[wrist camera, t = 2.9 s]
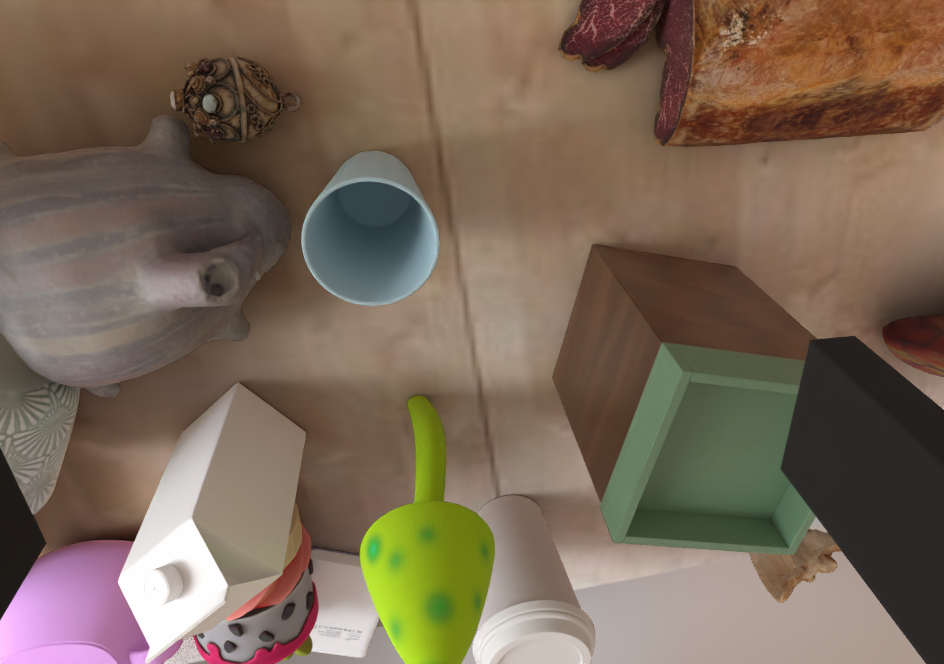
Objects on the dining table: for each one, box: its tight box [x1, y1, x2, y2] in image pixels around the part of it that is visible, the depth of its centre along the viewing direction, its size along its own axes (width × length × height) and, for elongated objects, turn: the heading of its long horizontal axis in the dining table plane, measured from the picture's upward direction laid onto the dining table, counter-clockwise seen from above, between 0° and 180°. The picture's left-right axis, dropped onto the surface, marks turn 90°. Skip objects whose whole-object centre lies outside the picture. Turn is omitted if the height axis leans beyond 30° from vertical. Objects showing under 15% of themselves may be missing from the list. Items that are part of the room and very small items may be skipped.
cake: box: [193, 503, 319, 664], centre depth 57 cm, size 10×11×15 cm
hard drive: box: [310, 548, 380, 658], centre depth 65 cm, size 2×8×12 cm
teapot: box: [0, 540, 183, 664], centre depth 56 cm, size 20×13×12 cm, turn 99°
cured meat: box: [558, 0, 944, 147], centre depth 41 cm, size 18×25×7 cm
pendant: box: [170, 56, 303, 144], centre depth 41 cm, size 5×8×5 cm
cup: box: [301, 150, 440, 306], centre depth 43 cm, size 8×8×10 cm
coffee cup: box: [473, 495, 595, 664], centre depth 57 cm, size 10×10×15 cm
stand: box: [552, 244, 817, 502], centre depth 48 cm, size 12×12×15 cm
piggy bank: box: [0, 115, 292, 397], centre depth 44 cm, size 18×16×14 cm
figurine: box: [749, 529, 841, 603], centre depth 64 cm, size 7×4×20 cm
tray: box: [600, 342, 816, 555], centre depth 40 cm, size 12×12×3 cm
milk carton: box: [118, 383, 306, 664], centre depth 47 cm, size 7×7×19 cm
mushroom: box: [360, 395, 495, 664], centre depth 45 cm, size 8×8×25 cm
